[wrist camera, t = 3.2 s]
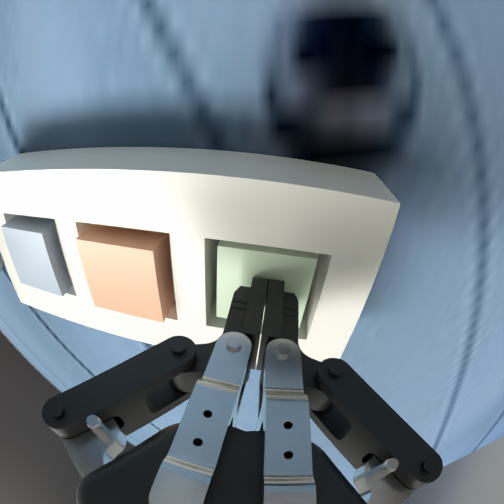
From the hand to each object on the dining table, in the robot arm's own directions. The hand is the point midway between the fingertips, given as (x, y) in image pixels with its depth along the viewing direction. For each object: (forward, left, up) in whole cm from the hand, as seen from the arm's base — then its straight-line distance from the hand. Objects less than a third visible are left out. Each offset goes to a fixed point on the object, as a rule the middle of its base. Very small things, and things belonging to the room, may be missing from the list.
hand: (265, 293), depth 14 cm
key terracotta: (-7, 0, -1) cm, 7 cm away
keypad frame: (-7, 0, -4) cm, 8 cm away
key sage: (0, 0, -2) cm, 2 cm away
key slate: (-14, 0, -1) cm, 14 cm away
